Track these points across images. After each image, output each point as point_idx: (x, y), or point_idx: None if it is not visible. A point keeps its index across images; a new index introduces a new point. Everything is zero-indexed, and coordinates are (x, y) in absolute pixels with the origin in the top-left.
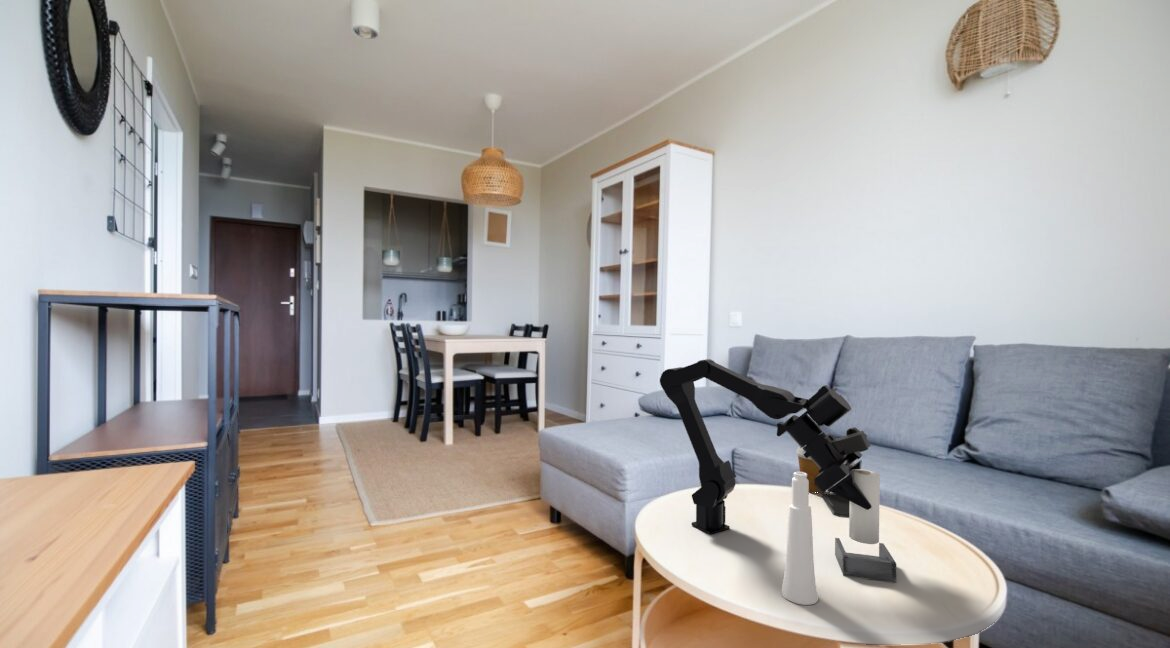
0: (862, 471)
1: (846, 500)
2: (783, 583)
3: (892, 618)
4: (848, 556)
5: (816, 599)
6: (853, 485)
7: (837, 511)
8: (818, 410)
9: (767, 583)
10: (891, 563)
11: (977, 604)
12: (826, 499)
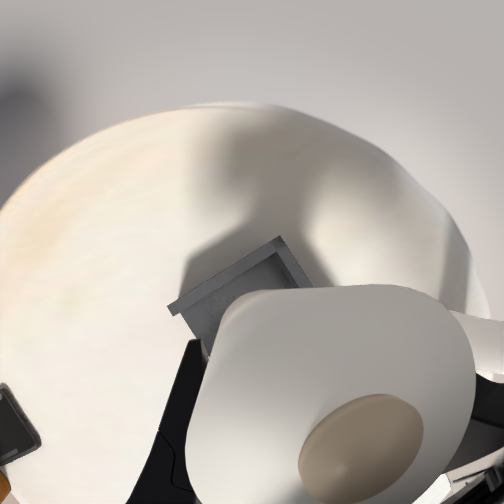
0: (378, 470)
1: None
2: None
3: (403, 208)
4: None
5: (449, 310)
6: (481, 379)
7: (28, 441)
8: None
9: None
10: (286, 245)
11: (239, 119)
12: (7, 459)
